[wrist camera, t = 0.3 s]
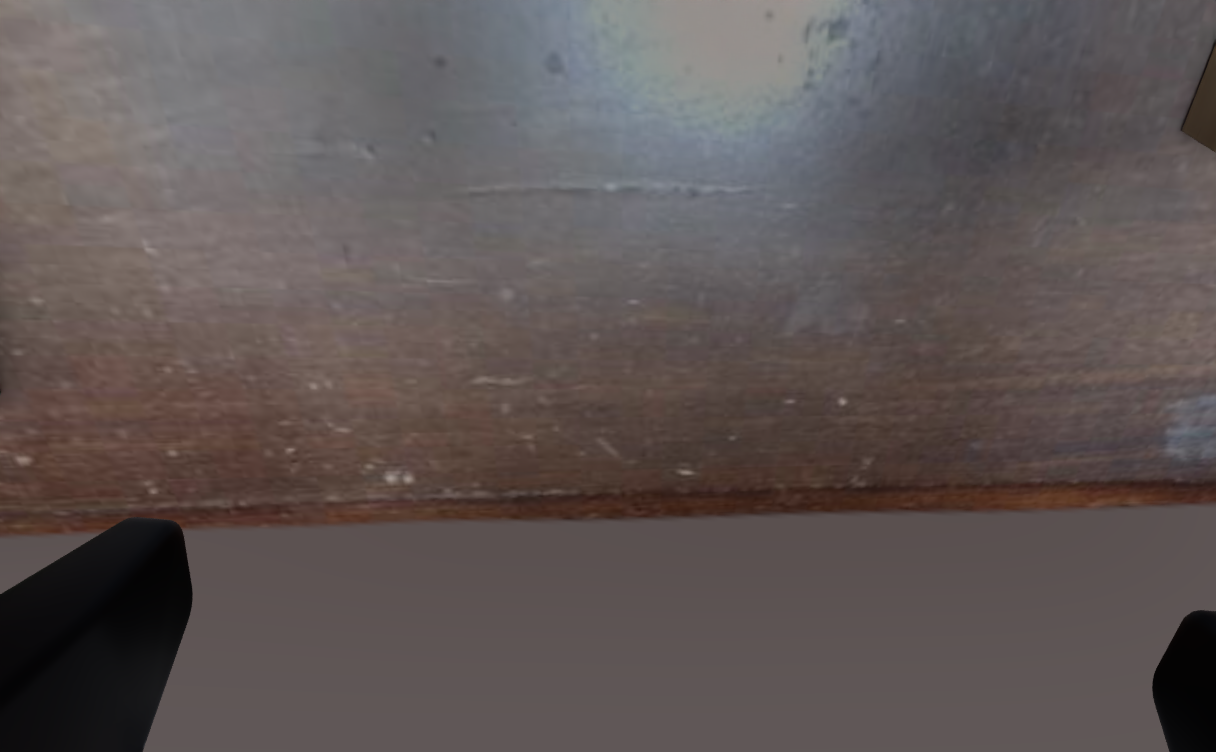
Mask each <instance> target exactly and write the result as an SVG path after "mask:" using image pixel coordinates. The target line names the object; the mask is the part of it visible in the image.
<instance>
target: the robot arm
mask: <svg viewBox="0 0 1216 752" xmlns="http://www.w3.org/2000/svg"><path fill="white" fill-rule="evenodd" d="M191 607H192V584H191V578H190V572H189V566H188V560H187V553H186V547H185V541H184V536H183V532H182V529H181V527H180V526H179V524H177V523H176V522H174V521H172V520H164V519H153V518H141V517H133V518H128V519H126V520H123V521H121V522H120V523H118V524H116V525H115V526H113V527H111V528H110V529H108V530H106V531H105V532H103V533H101V534H100V535H98V536H96V537H95V538H93V539H91V540H90V541H88V542H86V543H85V544H83V545H81V546H80V547H78V548H76V549H75V550H73V551H72V552H70V553H68V554H67V555H65V556H63V557H62V558H60V559H58V560H57V561H55V562H54V563H52V564H50V565H48V566H47V567H45V568H43V569H42V570H40V571H39V572H37V573H35V574H34V575H32V576H30V577H28V578H27V579H25V580H24V581H22V582H20V583H19V584H17V585H16V586H14V587H12V588H10V589H9V590H7V591H5V592H4V593H2V594H0V752H143V749H144V746H145V743H146V740H147V737H148V734H149V732H150V729H151V725H152V723H153V720H154V717H155V714H156V711H157V709H158V706H159V703H160V700H161V697H162V694H163V691H164V688H165V686H166V683H167V680H168V677H169V674H170V671H171V668H172V665H173V662H174V659H175V657H176V654H177V651H178V648H179V645H180V643H181V640H182V636H183V634H184V631H185V628H186V625H187V622H188V619H189V616H190V612H191ZM1152 689H1153V698H1154V703H1155V705H1156V709H1157V712H1158V716H1159V719H1160V722H1161V725H1162V729H1163V732H1164V735H1165V739H1166V742H1167V745H1168V748H1169V751H1170V752H1216V611H1204V610H1198V611H1193V612H1191V613H1190V614H1189V615H1187V616H1186V617H1185V618H1184V619H1183V621H1182V622H1181V624H1180V626H1179V628H1178V630H1177V631H1176V633H1175V635H1174V637H1173V639H1172V641H1171V642H1170V644H1169V646H1168V648H1167V650H1166V652H1165V654H1164V655H1163V657H1162V659H1161V661H1160V663H1159V665H1158V666H1157V668H1156V671H1155V673H1154V678H1153V686H1152Z"/></svg>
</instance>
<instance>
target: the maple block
mask: <svg viewBox="0 0 1216 752" xmlns="http://www.w3.org/2000/svg"><path fill="white" fill-rule="evenodd" d="M1182 132H1184V133H1185V134H1187V135H1189V136H1190V137H1192V138H1193V139H1195V140H1197V141H1198V142H1200V143H1201V144H1203V145H1204V146H1206V147H1208V148H1209V149H1211V150H1212V151H1214V152H1215V153H1216V45H1215V47H1214V50H1213V52H1212V55H1211V58H1210V60H1209V63H1208V65H1207V68H1206V70H1205V73H1204V75H1203V78H1202V80H1201V83H1200V86H1199V88H1198V91H1197V93H1196V96H1195V98H1194V101H1193V103H1192V106H1191V108H1190V111H1189V113H1188V116H1187V119H1186V121H1185V124H1184V126H1183V129H1182Z"/></svg>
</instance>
